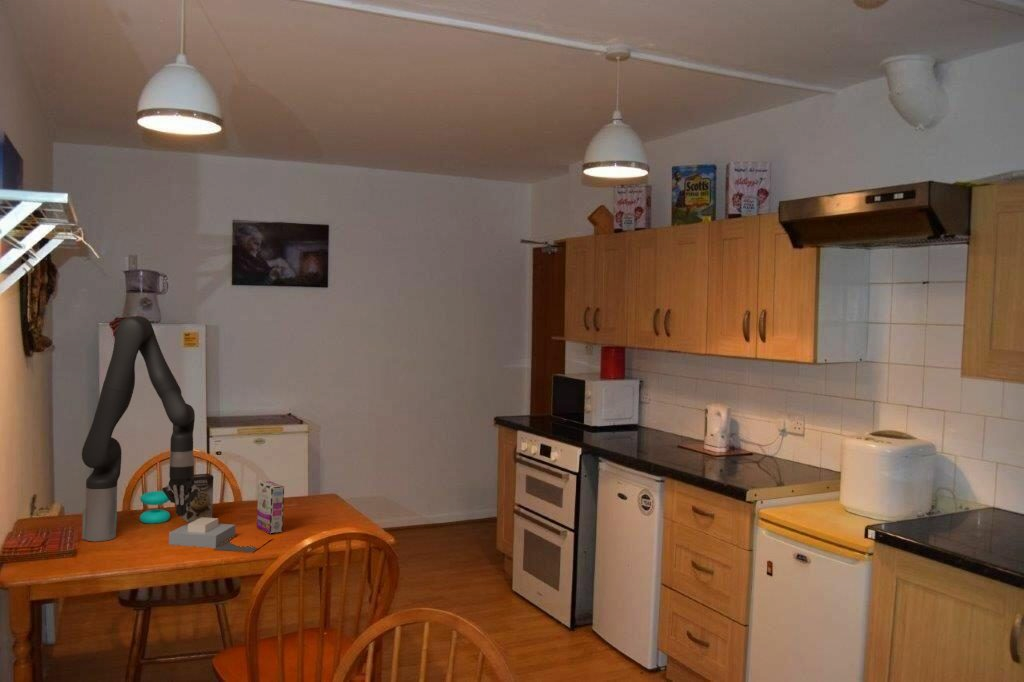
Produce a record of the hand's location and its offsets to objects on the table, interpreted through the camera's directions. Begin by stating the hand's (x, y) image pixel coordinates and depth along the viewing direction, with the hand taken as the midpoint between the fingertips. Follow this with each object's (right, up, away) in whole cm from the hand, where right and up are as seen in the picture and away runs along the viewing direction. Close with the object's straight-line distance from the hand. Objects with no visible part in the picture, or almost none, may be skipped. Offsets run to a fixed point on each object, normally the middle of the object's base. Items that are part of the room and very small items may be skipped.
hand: (181, 515), depth 265 cm
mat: (+22, -9, -3) cm, 24 cm away
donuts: (-19, -7, +22) cm, 29 cm away
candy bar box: (+25, -9, +15) cm, 30 cm away
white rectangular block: (+7, -3, 0) cm, 8 cm away
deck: (+7, -8, 0) cm, 11 cm away
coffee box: (-5, -7, +26) cm, 28 cm away
